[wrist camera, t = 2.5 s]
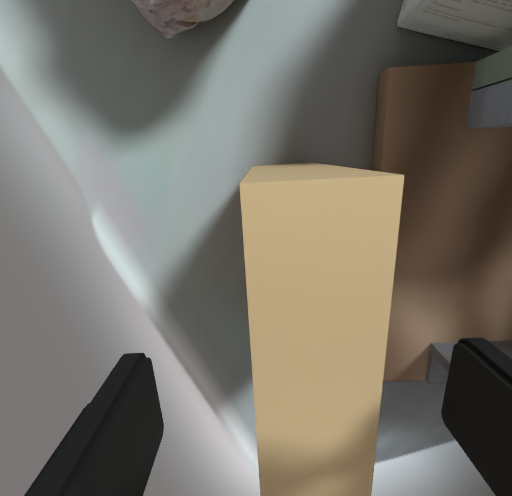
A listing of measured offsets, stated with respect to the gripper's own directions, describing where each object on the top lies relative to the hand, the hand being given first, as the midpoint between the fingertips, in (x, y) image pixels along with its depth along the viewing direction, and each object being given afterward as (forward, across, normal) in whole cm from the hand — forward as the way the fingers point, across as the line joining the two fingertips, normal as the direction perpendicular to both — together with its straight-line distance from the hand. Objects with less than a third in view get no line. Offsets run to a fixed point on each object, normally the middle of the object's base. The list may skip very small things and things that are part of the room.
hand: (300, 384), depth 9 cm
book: (+13, -1, 0) cm, 13 cm away
